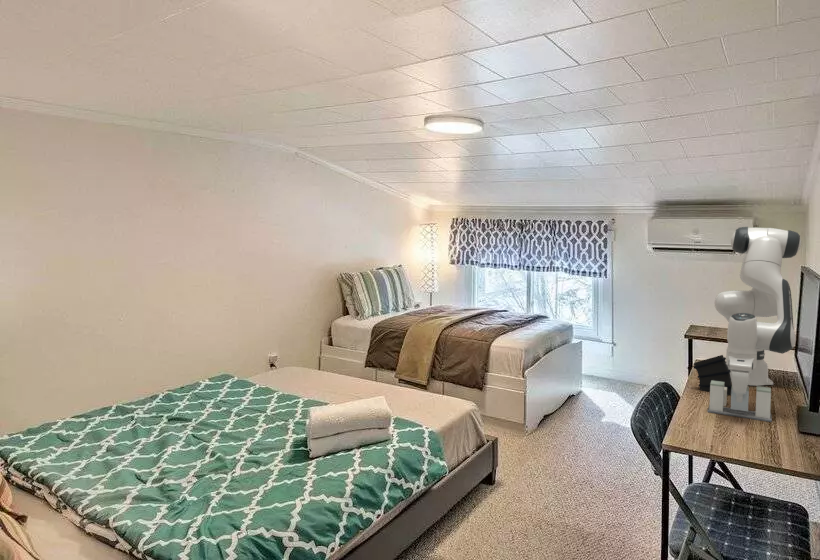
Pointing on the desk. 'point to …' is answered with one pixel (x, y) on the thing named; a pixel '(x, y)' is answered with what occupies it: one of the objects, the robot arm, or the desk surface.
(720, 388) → the block
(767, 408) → the block
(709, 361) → the black ridged block
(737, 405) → the block
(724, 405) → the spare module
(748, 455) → the desk surface
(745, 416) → the rail plate
